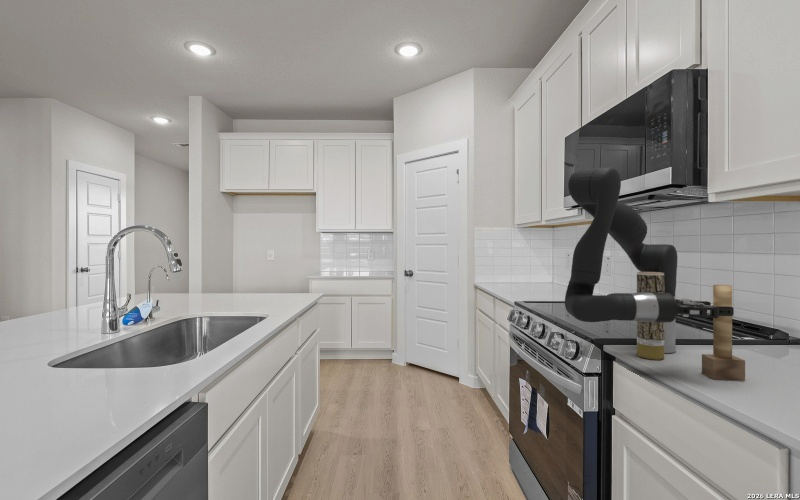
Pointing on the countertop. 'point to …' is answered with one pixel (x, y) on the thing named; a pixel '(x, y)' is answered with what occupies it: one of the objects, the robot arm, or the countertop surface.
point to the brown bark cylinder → (650, 332)
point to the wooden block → (723, 368)
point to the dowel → (722, 323)
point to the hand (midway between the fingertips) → (720, 308)
